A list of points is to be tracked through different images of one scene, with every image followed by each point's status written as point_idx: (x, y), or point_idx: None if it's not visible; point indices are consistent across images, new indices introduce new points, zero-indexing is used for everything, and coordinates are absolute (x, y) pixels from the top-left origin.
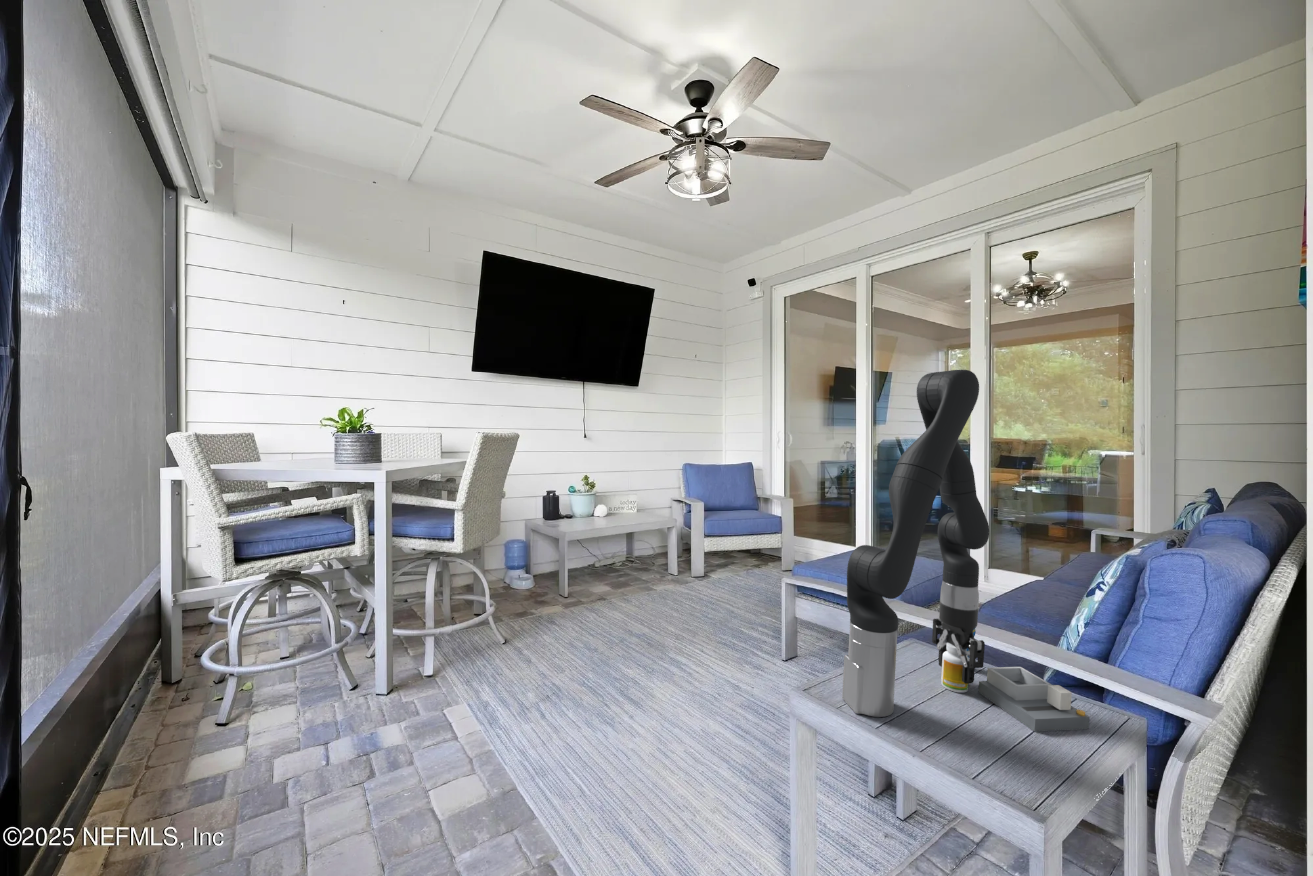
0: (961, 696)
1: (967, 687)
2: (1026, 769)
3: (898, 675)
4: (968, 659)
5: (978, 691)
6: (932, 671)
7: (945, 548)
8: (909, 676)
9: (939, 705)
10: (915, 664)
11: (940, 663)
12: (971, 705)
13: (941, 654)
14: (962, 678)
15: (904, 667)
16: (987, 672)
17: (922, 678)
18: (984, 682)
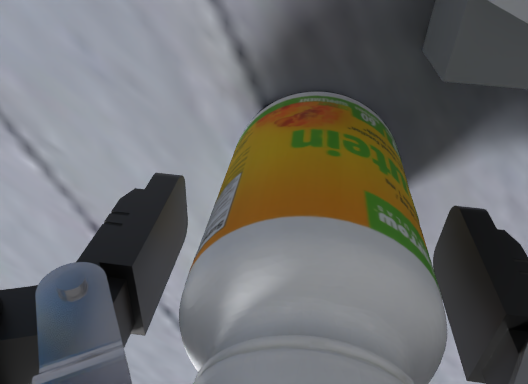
0: (421, 204)
1: (396, 148)
2: None
3: (161, 323)
4: (431, 314)
5: (424, 53)
6: (98, 142)
7: None
8: (170, 291)
9: (447, 347)
10: (13, 176)
11: (178, 250)
12: (524, 226)
13: (153, 307)
14: (442, 283)
15: (68, 253)
16: (507, 8)
17: (192, 252)
18: (485, 48)
